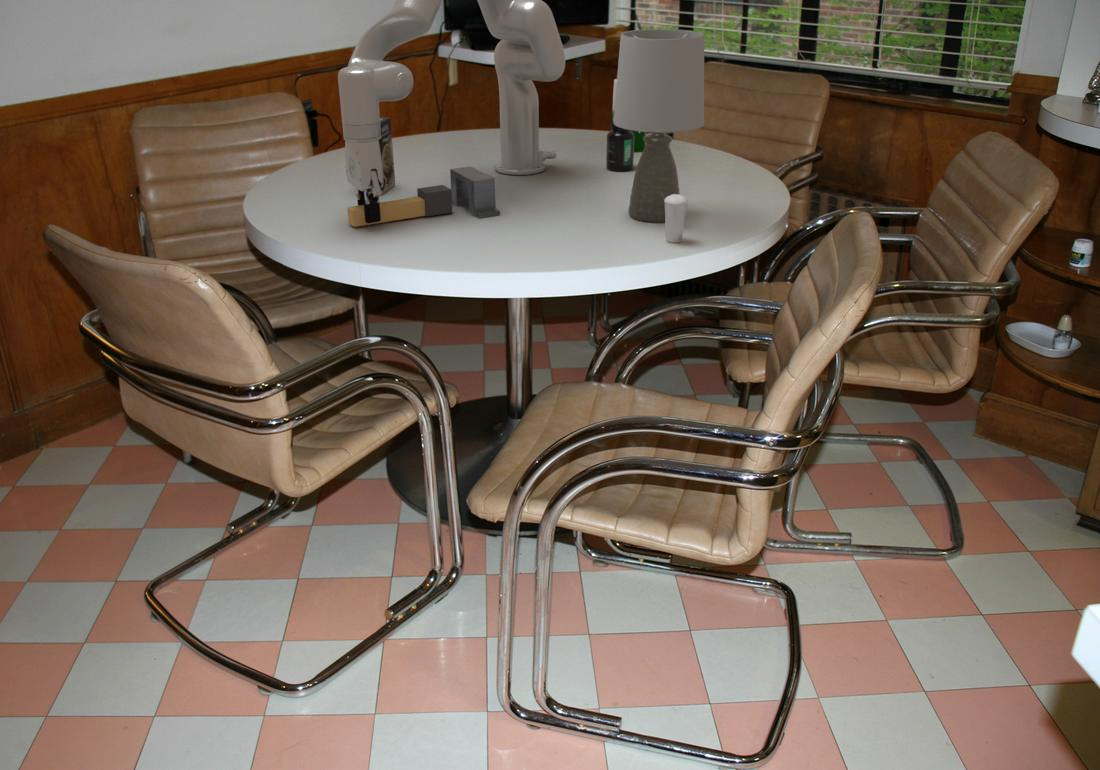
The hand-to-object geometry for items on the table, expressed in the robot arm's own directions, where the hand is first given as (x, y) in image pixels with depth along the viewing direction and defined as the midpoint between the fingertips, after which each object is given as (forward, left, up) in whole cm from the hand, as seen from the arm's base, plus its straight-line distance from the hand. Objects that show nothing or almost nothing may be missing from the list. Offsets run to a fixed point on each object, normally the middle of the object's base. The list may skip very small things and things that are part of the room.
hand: (369, 218), depth 207 cm
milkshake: (-48, +41, -1) cm, 63 cm away
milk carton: (-85, -30, -1) cm, 90 cm away
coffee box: (-11, -25, -1) cm, 27 cm away
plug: (-7, 0, -1) cm, 7 cm away
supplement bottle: (-71, -13, -1) cm, 72 cm away
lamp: (-55, +25, -1) cm, 60 cm away
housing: (-24, 0, -1) cm, 24 cm away
